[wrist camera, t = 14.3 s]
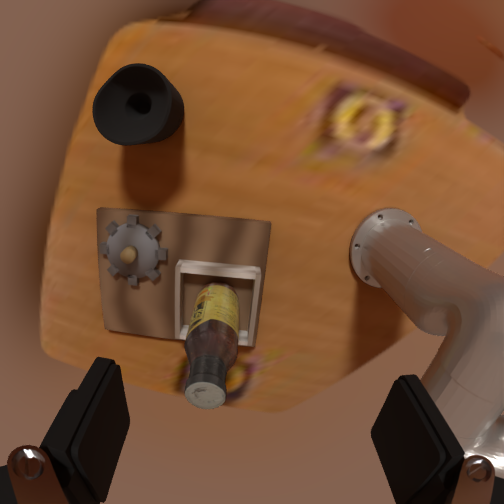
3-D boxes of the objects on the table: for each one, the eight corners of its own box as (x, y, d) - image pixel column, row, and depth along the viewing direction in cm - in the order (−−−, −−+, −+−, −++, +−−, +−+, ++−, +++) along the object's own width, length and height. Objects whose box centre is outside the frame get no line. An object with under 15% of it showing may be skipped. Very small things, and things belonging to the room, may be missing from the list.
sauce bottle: (200, 275, 46) (174, 361, 27) (243, 283, 46) (244, 374, 27) (194, 314, 48) (170, 409, 29) (234, 322, 48) (231, 419, 29)
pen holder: (187, 142, 41) (171, 141, 32) (123, 147, 41) (93, 149, 31) (187, 77, 38) (172, 58, 29) (123, 84, 38) (93, 70, 28)
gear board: (270, 221, 45) (273, 229, 40) (254, 341, 51) (255, 359, 47) (100, 207, 43) (87, 214, 39) (107, 324, 50) (98, 339, 45)
